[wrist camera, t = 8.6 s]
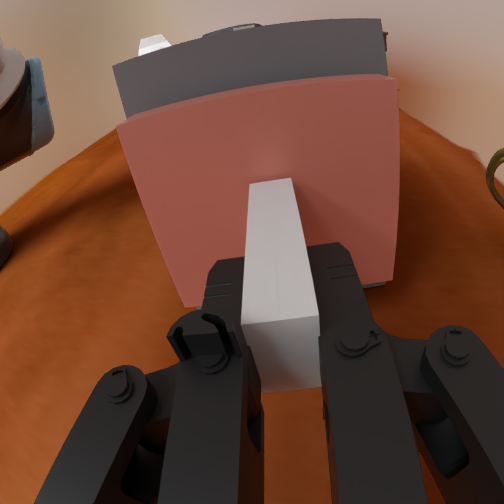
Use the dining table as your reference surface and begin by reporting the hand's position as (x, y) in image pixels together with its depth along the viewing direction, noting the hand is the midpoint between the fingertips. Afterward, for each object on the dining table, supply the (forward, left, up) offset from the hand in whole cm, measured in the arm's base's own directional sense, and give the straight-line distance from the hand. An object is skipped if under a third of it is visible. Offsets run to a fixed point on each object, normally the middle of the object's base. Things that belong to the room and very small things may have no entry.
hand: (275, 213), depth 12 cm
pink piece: (+2, +7, -4) cm, 9 cm away
